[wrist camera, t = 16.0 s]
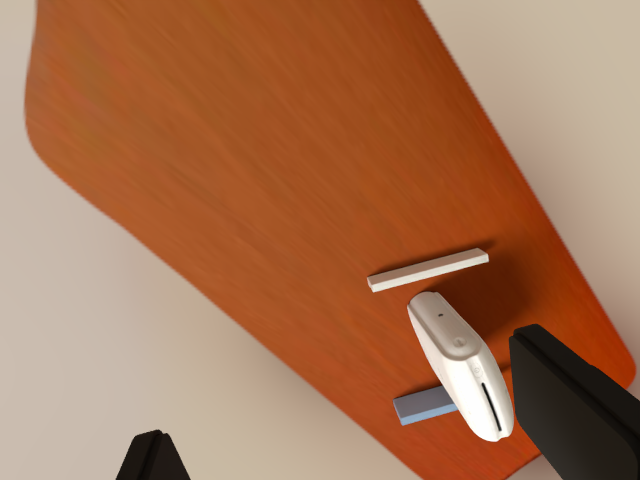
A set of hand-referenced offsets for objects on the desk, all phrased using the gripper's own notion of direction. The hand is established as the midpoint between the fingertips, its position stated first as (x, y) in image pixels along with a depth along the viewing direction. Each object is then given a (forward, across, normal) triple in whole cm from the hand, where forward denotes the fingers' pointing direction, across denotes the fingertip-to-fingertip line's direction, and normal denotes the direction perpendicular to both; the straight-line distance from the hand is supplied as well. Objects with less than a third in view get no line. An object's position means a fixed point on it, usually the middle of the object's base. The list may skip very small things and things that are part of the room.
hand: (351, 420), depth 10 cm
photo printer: (+28, -11, +18) cm, 35 cm away
